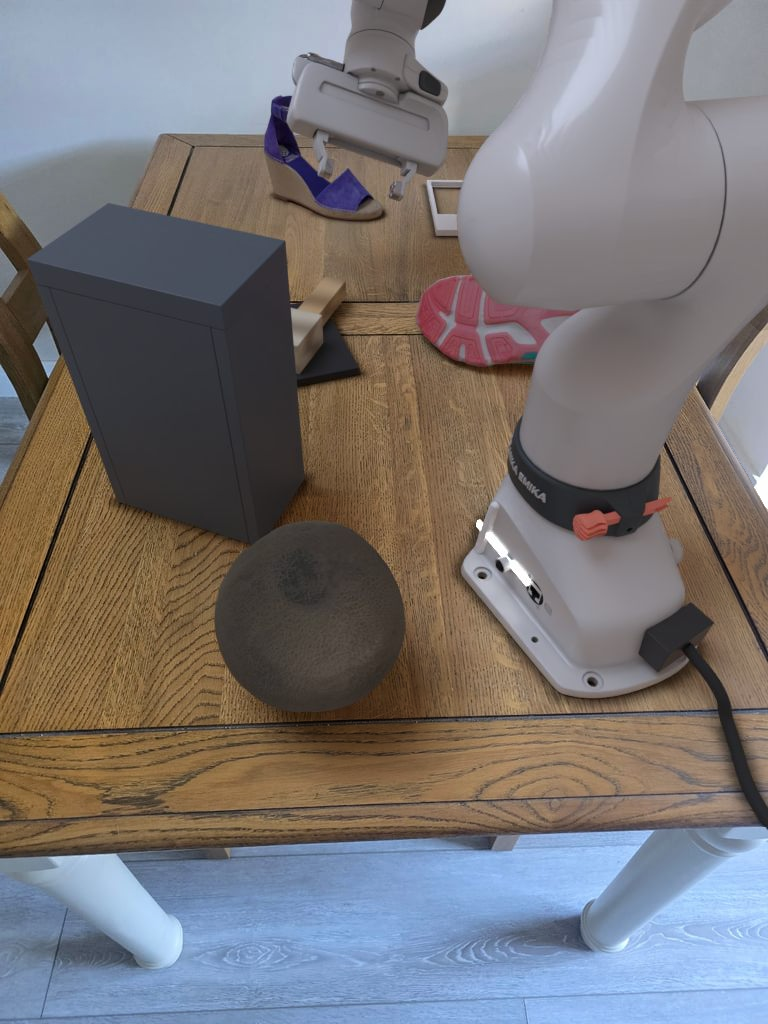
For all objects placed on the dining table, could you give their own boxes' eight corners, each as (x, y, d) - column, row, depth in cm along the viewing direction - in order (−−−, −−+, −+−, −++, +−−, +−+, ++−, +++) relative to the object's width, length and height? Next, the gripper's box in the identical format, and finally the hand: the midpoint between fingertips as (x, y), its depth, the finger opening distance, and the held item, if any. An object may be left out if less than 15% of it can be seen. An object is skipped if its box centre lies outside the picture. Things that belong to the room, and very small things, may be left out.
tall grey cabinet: (171, 439, 77) (108, 202, 58) (305, 478, 74) (285, 240, 54) (117, 502, 71) (26, 258, 51) (260, 547, 67) (221, 305, 48)
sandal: (363, 229, 110) (364, 126, 99) (261, 198, 117) (250, 98, 106) (389, 210, 115) (393, 109, 104) (289, 181, 121) (282, 83, 110)
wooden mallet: (315, 289, 96) (314, 262, 93) (356, 299, 95) (356, 271, 92) (254, 362, 85) (250, 334, 82) (299, 374, 84) (297, 346, 81)
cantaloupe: (217, 753, 54) (181, 650, 42) (239, 599, 63) (213, 482, 52) (402, 752, 54) (414, 649, 43) (396, 599, 64) (405, 483, 52)
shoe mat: (358, 374, 86) (358, 367, 85) (278, 390, 83) (277, 383, 82) (321, 305, 96) (321, 298, 95) (248, 317, 93) (247, 311, 92)
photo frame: (436, 228, 109) (426, 178, 121) (436, 235, 109) (426, 185, 121) (530, 229, 109) (511, 179, 121) (529, 236, 110) (510, 186, 122)
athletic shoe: (631, 370, 89) (633, 271, 87) (635, 366, 80) (638, 257, 79) (426, 378, 97) (424, 288, 95) (409, 376, 88) (407, 276, 86)
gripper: (302, 31, 81) (284, 149, 81) (460, 92, 88) (444, 201, 88) (289, 61, 87) (273, 172, 87) (439, 116, 94) (424, 218, 94)
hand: (361, 187), depth 88 cm, fingers open, 8 cm apart
